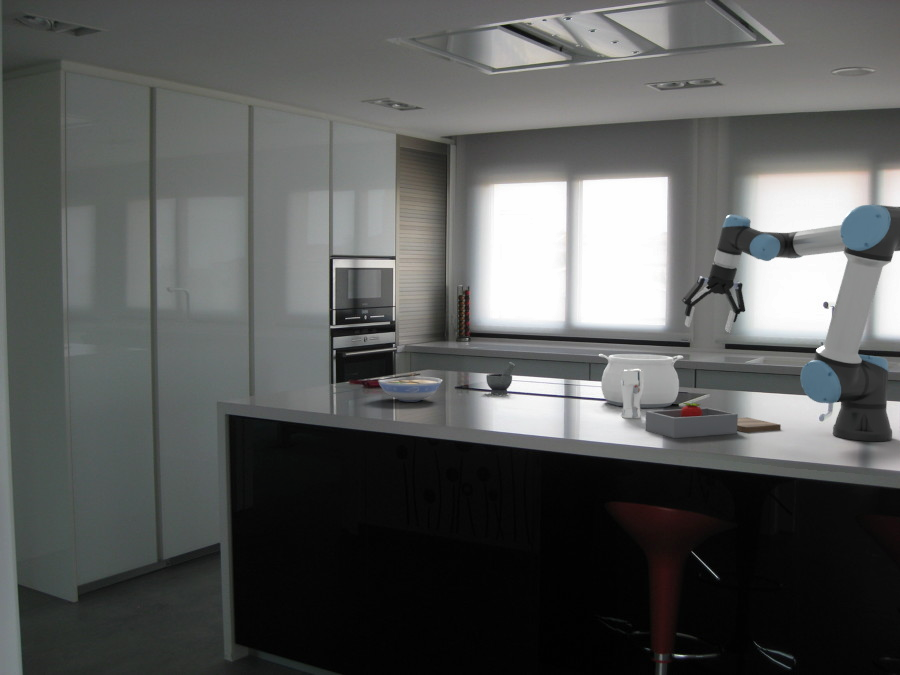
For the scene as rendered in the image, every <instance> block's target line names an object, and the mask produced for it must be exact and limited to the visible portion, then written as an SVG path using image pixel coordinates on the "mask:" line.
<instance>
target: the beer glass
mask: <svg viewBox="0 0 900 675" xmlns="http://www.w3.org/2000/svg"><path fill="white" fill-rule="evenodd" d="M621 392H622V399H623V407H622V411H621V412H622V413H621V418H622V419H623V418H624V419H630V420H631V419H633V420H638V419H641V418H642V413H641V408H640V403H641V397H642V392H643V370H640V369H622V375H621Z"/></svg>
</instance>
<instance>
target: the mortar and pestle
mask: <svg viewBox="0 0 900 675" xmlns="http://www.w3.org/2000/svg"><path fill="white" fill-rule="evenodd" d="M515 367H516V364H515V363H514V362H512V361H509V362H508V365H507V367H506V368H505V369H504V371H503V373H490V374H486V375H485V376H486V384H487V386H488V387H489V388H490V389H491V391H490V394H492V395H507V394H508V389H509V388H510V386H511V384H512V380H513V374H512V372H513V371H514V369H515Z"/></svg>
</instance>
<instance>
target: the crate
mask: <svg viewBox="0 0 900 675" xmlns="http://www.w3.org/2000/svg"><path fill="white" fill-rule="evenodd" d="M700 408H701V410H702V416H694V417H681V409H682V408H681V409H663V410H648V411H645V431H647V432H650V433H653V434H658V435H662V436H665V437H668V438H671V439H679V438H682V439H683V438H691V437H692V438H693V437H694V438H695V437H706V436H718V435H719V436H720V435H734V434H738V430H737V420H738V418H739V415H738V413H733V412H729V411H726V410H725V411H724V410H721V409H720V410H719V409H714V408H711V407H700Z"/></svg>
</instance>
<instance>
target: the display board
mask: <svg viewBox="0 0 900 675" xmlns="http://www.w3.org/2000/svg"><path fill="white" fill-rule="evenodd" d="M781 427H782V426H781V424H779V423H775V422H770V421H766V420H761V419H757V418H751V417H738V420H737V432H743V433H755V432H766V431H767V432H768V431H781Z"/></svg>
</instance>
